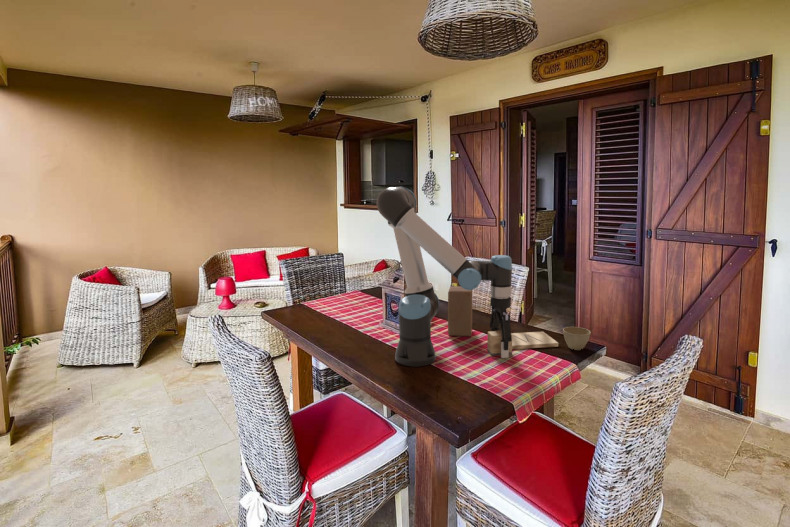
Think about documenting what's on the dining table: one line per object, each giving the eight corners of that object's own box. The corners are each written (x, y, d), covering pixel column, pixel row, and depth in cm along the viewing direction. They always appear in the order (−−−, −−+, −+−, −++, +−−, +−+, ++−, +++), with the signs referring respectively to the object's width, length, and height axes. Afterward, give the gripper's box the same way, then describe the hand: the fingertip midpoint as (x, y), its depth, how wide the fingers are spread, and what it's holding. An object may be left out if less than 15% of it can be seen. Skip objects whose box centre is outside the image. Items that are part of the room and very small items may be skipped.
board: (509, 349, 174) (509, 345, 174) (497, 337, 188) (497, 334, 188) (558, 346, 176) (558, 342, 176) (542, 334, 190) (543, 331, 190)
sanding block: (491, 355, 168) (491, 335, 167) (487, 351, 173) (487, 331, 172) (511, 354, 169) (512, 334, 168) (507, 349, 174) (507, 330, 173)
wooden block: (471, 337, 189) (471, 291, 185) (447, 336, 191) (447, 290, 187) (472, 329, 199) (472, 286, 195) (449, 328, 201) (449, 285, 197)
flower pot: (577, 354, 168) (578, 336, 167) (556, 346, 177) (557, 329, 175) (595, 349, 172) (596, 331, 171) (574, 341, 181) (575, 325, 180)
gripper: (522, 303, 156) (520, 363, 160) (500, 288, 179) (499, 341, 183) (501, 304, 156) (500, 364, 160) (481, 289, 178) (481, 342, 182)
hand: (499, 352), depth 171 cm, fingers open, 10 cm apart
